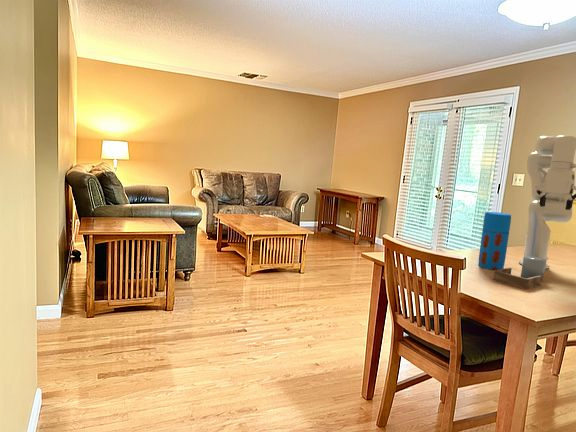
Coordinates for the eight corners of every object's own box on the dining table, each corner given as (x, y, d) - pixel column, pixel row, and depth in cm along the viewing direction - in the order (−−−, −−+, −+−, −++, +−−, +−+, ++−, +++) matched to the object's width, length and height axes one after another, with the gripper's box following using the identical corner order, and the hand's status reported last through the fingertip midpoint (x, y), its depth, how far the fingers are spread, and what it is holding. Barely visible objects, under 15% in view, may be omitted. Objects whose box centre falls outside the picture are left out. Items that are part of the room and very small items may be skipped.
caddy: (507, 276, 174) (509, 267, 173) (540, 285, 163) (542, 275, 163) (492, 280, 167) (494, 270, 166) (526, 289, 156) (527, 279, 156)
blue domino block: (506, 271, 183) (515, 216, 179) (481, 268, 185) (488, 213, 181) (499, 265, 193) (507, 213, 190) (475, 263, 195) (482, 211, 192)
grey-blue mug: (532, 274, 181) (535, 254, 180) (551, 279, 174) (555, 258, 173) (516, 277, 173) (519, 257, 172) (536, 283, 167) (540, 261, 165)
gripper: (589, 168, 163) (582, 210, 165) (543, 165, 177) (536, 205, 179) (582, 167, 159) (574, 211, 161) (534, 165, 172) (528, 205, 175)
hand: (554, 208), depth 170 cm, fingers open, 9 cm apart
